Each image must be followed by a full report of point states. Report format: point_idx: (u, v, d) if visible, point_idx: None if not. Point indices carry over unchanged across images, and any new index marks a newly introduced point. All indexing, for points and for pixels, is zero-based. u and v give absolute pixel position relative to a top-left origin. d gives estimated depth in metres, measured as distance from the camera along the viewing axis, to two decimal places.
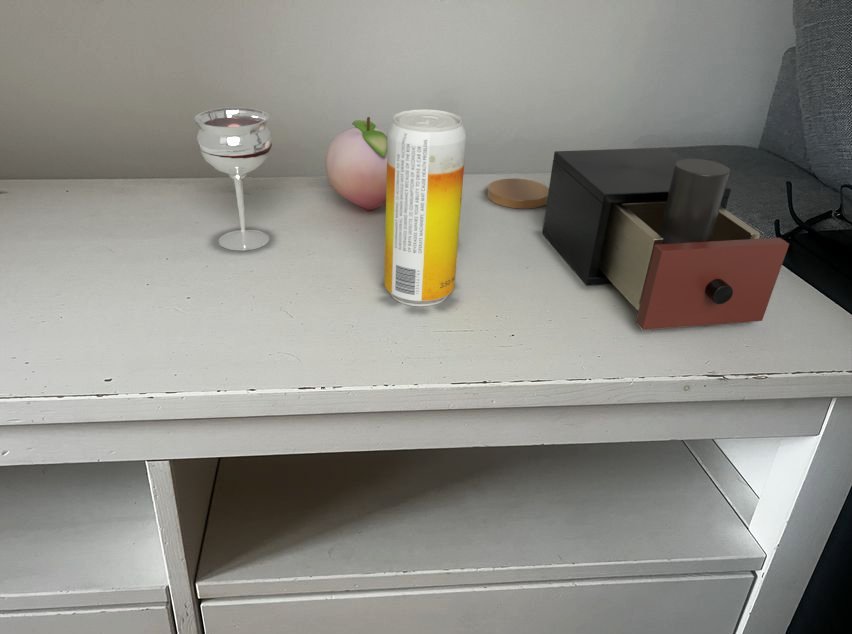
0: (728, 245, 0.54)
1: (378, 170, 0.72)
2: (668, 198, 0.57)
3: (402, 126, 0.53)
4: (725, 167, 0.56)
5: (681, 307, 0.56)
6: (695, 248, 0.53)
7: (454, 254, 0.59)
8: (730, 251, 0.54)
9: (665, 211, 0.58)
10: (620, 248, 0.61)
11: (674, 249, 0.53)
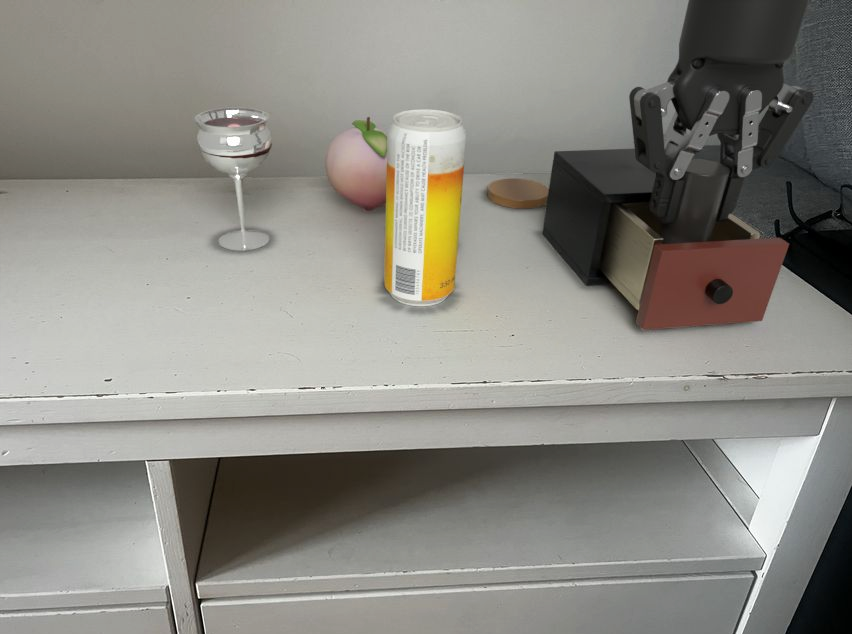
0: (728, 245, 0.54)
1: (378, 170, 0.72)
2: None
3: (402, 126, 0.53)
4: (725, 167, 0.56)
5: (681, 307, 0.56)
6: (695, 248, 0.53)
7: (454, 254, 0.59)
8: (730, 251, 0.54)
9: None
10: (620, 248, 0.61)
11: (674, 249, 0.53)
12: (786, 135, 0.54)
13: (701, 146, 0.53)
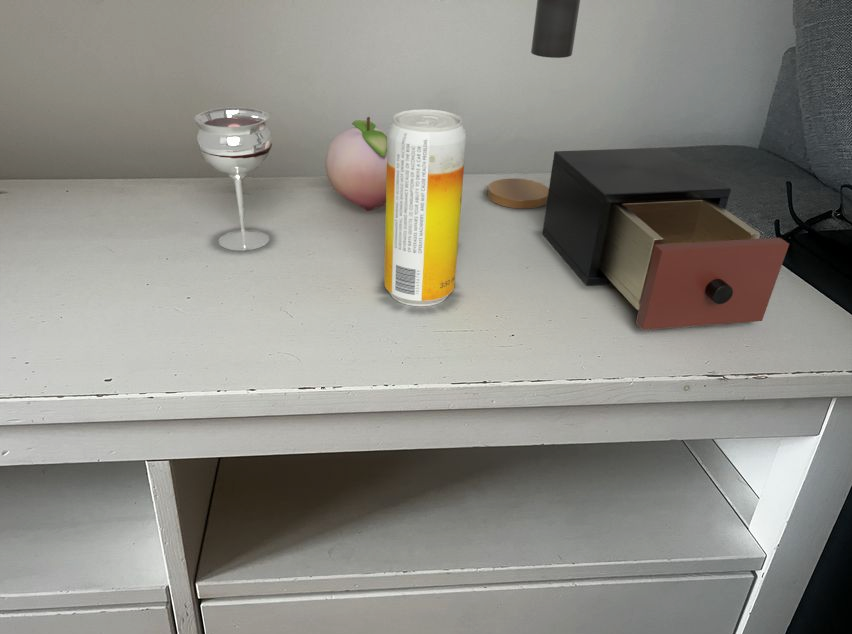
0: (728, 245, 0.54)
1: (378, 170, 0.72)
2: None
3: (402, 126, 0.53)
4: None
5: (681, 307, 0.56)
6: (695, 248, 0.53)
7: (454, 254, 0.59)
8: (730, 251, 0.54)
9: None
10: (620, 248, 0.61)
11: (674, 249, 0.53)
12: None
13: None
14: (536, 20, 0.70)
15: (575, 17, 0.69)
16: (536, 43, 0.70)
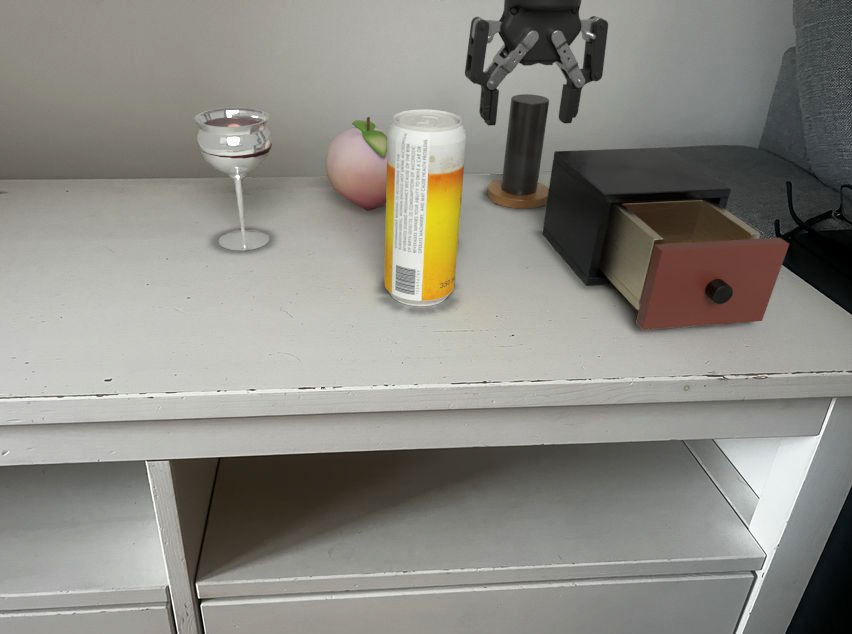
0: (728, 245, 0.54)
1: (378, 170, 0.72)
2: (508, 123, 0.78)
3: (402, 126, 0.53)
4: (546, 99, 0.77)
5: (681, 307, 0.56)
6: (695, 248, 0.53)
7: (454, 254, 0.59)
8: (730, 251, 0.54)
9: (507, 133, 0.79)
10: (620, 248, 0.61)
11: (674, 249, 0.53)
12: (601, 54, 0.74)
13: (512, 68, 0.73)
14: (505, 163, 0.80)
15: (538, 162, 0.79)
16: (505, 182, 0.81)
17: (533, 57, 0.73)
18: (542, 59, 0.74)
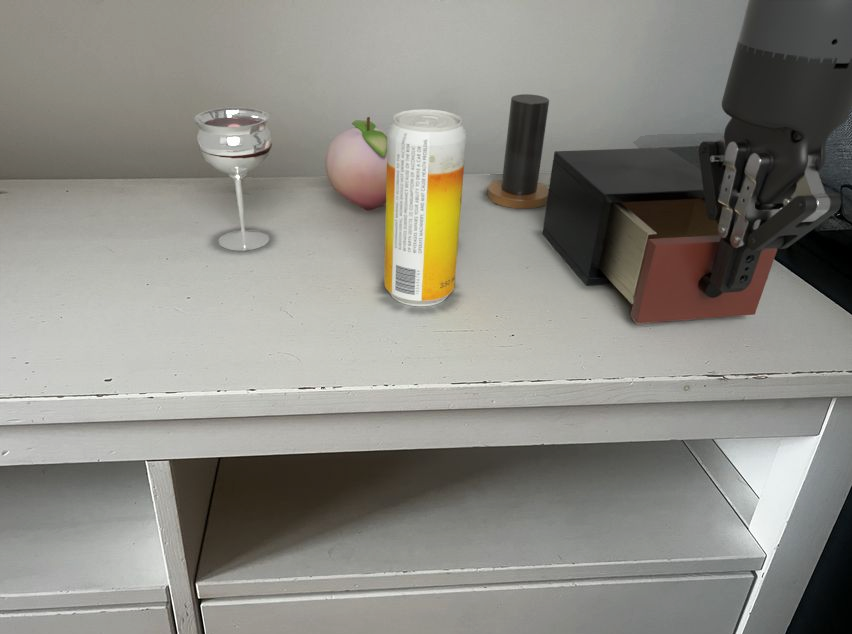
0: None
1: (378, 170, 0.72)
2: (508, 123, 0.78)
3: (402, 126, 0.53)
4: (546, 99, 0.77)
5: (675, 301, 0.57)
6: (688, 242, 0.54)
7: (454, 254, 0.59)
8: None
9: (507, 133, 0.79)
10: (615, 243, 0.61)
11: (667, 243, 0.54)
12: (773, 229, 0.47)
13: (727, 201, 0.51)
14: (505, 163, 0.80)
15: (538, 162, 0.79)
16: (505, 182, 0.81)
17: (739, 182, 0.50)
18: None
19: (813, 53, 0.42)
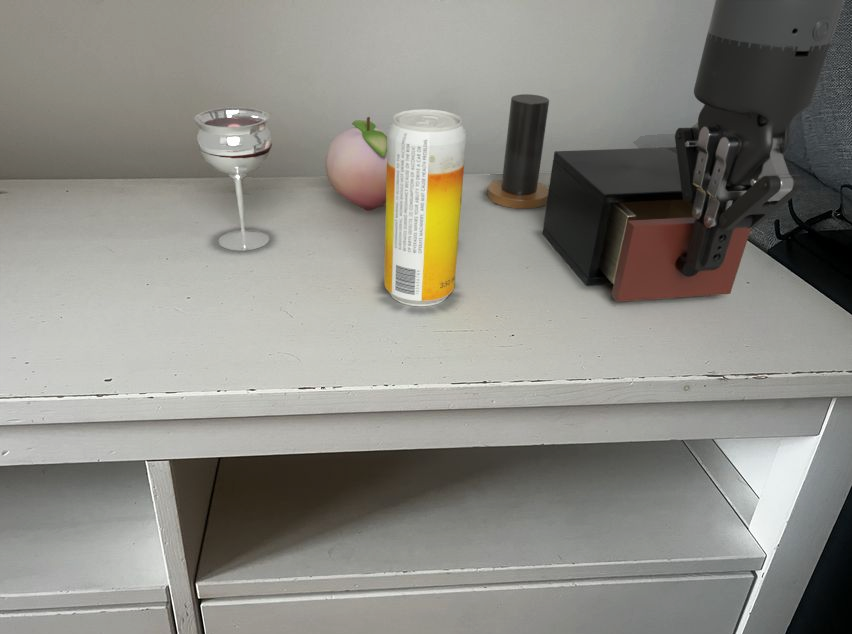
0: None
1: (378, 170, 0.72)
2: (508, 123, 0.78)
3: (402, 126, 0.53)
4: (546, 99, 0.77)
5: (653, 280, 0.60)
6: (665, 224, 0.57)
7: (454, 254, 0.59)
8: None
9: (507, 133, 0.79)
10: None
11: (645, 224, 0.57)
12: (741, 208, 0.50)
13: (700, 183, 0.54)
14: (505, 163, 0.80)
15: (538, 162, 0.79)
16: (505, 182, 0.81)
17: (711, 165, 0.53)
18: None
19: (775, 41, 0.45)
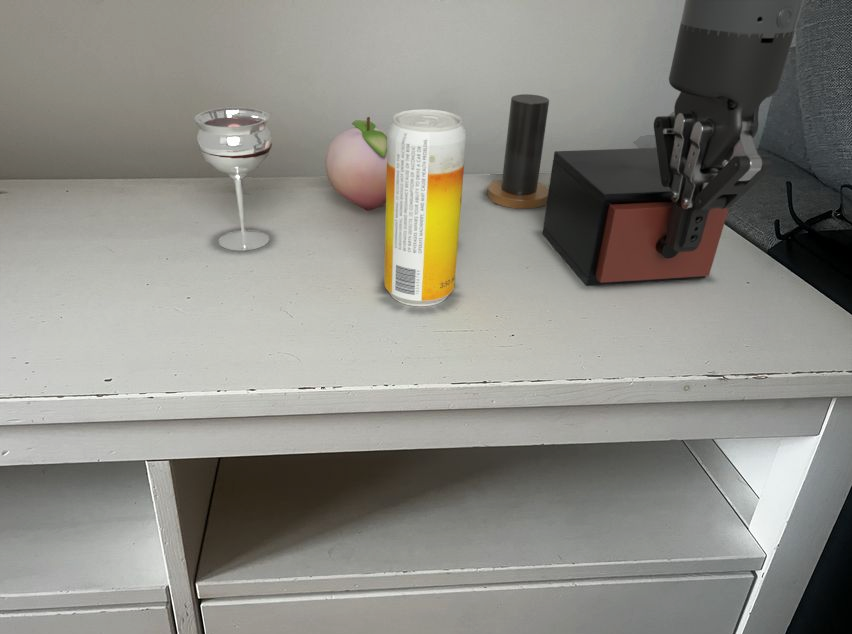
0: None
1: (378, 170, 0.72)
2: (508, 123, 0.78)
3: (402, 126, 0.53)
4: (546, 99, 0.77)
5: (634, 262, 0.63)
6: (645, 207, 0.60)
7: (454, 254, 0.59)
8: None
9: (507, 133, 0.79)
10: None
11: (626, 208, 0.60)
12: (714, 188, 0.53)
13: (677, 167, 0.56)
14: (505, 163, 0.80)
15: (538, 162, 0.79)
16: (505, 182, 0.81)
17: (687, 150, 0.56)
18: None
19: (742, 29, 0.48)
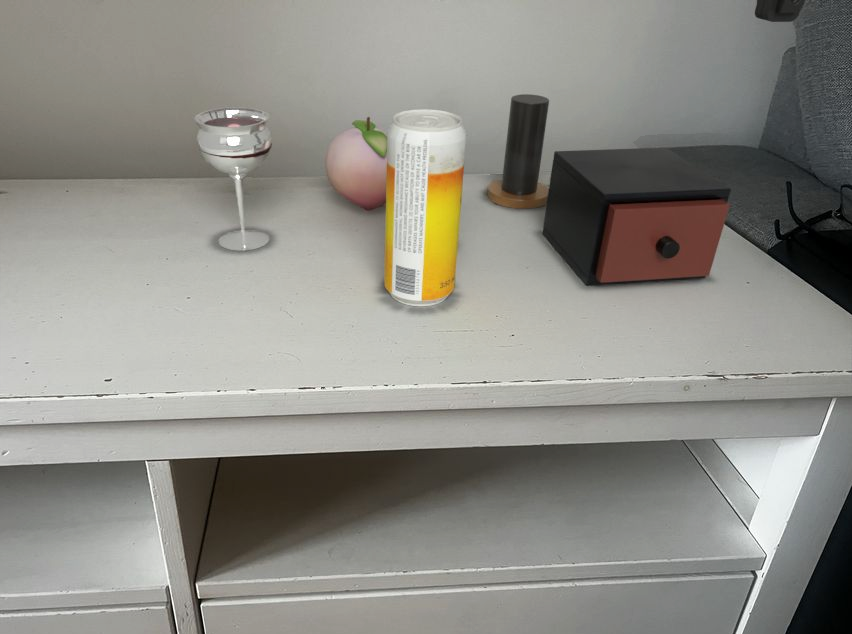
0: (675, 205, 0.60)
1: (378, 170, 0.72)
2: (508, 123, 0.78)
3: (402, 126, 0.53)
4: (546, 99, 0.77)
5: (634, 262, 0.63)
6: (645, 207, 0.60)
7: (454, 254, 0.59)
8: (676, 210, 0.60)
9: (507, 133, 0.79)
10: None
11: (626, 208, 0.60)
12: None
13: None
14: (505, 163, 0.80)
15: (538, 162, 0.79)
16: (505, 182, 0.81)
17: None
18: None
19: None
